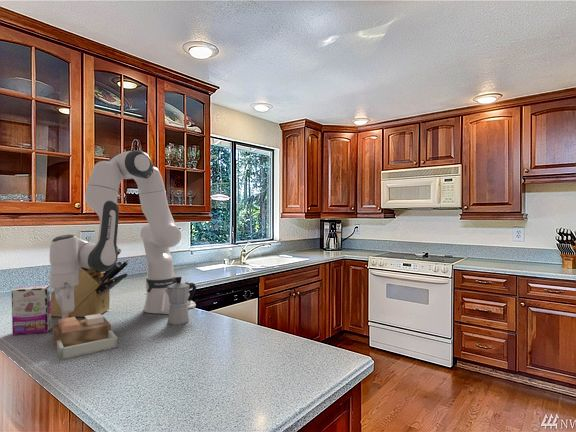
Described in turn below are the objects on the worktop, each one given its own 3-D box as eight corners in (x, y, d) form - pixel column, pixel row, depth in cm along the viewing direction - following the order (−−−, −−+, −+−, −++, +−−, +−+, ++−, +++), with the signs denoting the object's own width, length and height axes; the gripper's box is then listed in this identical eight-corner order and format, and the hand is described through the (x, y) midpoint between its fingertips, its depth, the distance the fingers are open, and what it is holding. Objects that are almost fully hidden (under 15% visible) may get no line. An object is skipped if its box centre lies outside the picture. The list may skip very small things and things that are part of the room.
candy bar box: (52, 328, 136) (52, 285, 136) (47, 333, 131) (47, 288, 131) (17, 330, 133) (17, 286, 133) (11, 335, 128) (10, 289, 128)
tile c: (77, 326, 124) (77, 320, 124) (79, 330, 120) (79, 324, 120) (60, 329, 121) (60, 323, 121) (62, 333, 117) (62, 327, 117)
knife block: (118, 318, 148) (117, 243, 147) (33, 317, 149) (32, 242, 148) (130, 310, 159) (130, 240, 158) (52, 309, 160) (51, 240, 159)
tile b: (74, 322, 128) (74, 316, 128) (77, 325, 124) (77, 320, 124) (58, 324, 125) (58, 319, 125) (59, 328, 121) (59, 322, 121)
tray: (111, 339, 126) (111, 330, 126) (117, 347, 119) (117, 337, 118) (57, 350, 116) (56, 340, 116) (60, 359, 109) (60, 349, 109)
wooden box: (103, 329, 135) (103, 316, 135) (111, 339, 126) (111, 324, 125) (52, 339, 125) (52, 325, 125) (57, 350, 116) (56, 334, 116)
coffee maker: (171, 327, 138) (171, 280, 137) (158, 323, 143) (158, 277, 142) (202, 318, 150) (202, 275, 149) (189, 314, 155) (189, 272, 154)
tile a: (100, 318, 132) (100, 313, 132) (103, 322, 128) (103, 316, 128) (85, 321, 129) (85, 316, 129) (87, 325, 125) (87, 319, 125)
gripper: (79, 284, 123) (79, 324, 123) (70, 275, 139) (70, 310, 139) (57, 287, 119) (57, 328, 119) (51, 277, 135) (51, 313, 136)
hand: (64, 318), depth 130 cm, fingers closed
